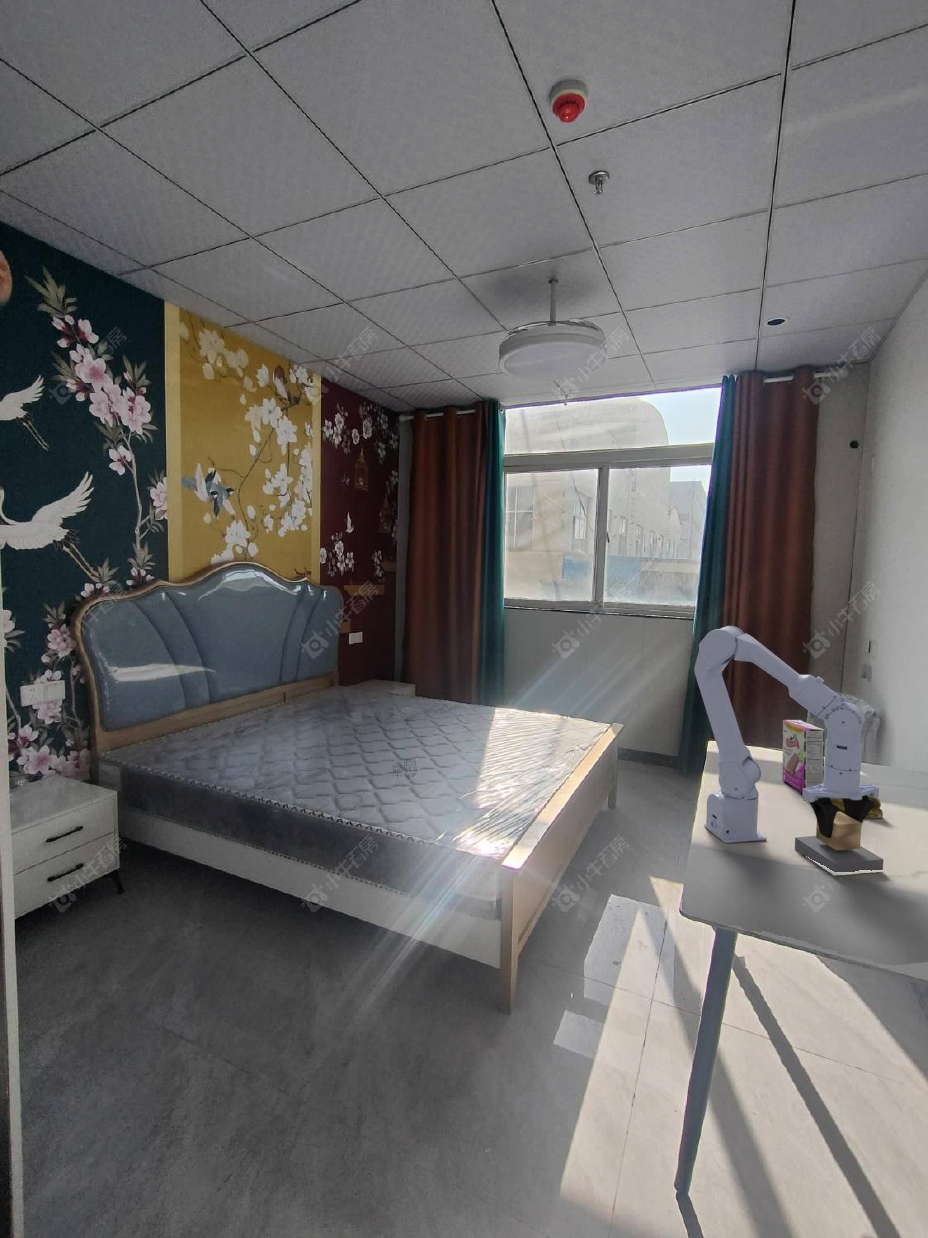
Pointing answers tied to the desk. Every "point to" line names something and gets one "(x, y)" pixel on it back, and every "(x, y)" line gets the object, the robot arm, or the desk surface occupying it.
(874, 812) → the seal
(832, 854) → the charcoal plinth
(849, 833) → the oak cube
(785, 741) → the candy bar box
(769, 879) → the desk surface
